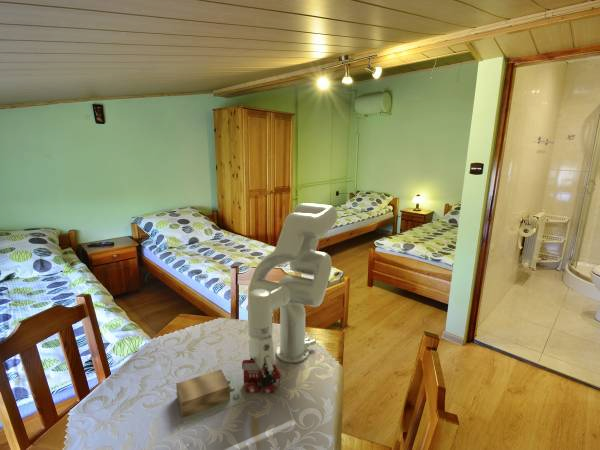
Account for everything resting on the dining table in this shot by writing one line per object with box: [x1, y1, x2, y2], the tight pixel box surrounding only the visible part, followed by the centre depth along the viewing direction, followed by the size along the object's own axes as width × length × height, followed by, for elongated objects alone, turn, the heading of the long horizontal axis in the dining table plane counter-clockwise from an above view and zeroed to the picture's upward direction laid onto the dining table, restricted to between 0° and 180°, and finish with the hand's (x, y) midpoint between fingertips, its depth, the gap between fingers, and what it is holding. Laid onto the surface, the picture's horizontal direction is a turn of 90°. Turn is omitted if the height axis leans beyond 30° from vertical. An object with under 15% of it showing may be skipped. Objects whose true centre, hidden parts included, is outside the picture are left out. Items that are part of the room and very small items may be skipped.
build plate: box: [175, 374, 246, 425], centre depth 100 cm, size 18×14×2 cm
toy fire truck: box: [241, 359, 282, 394], centre depth 105 cm, size 7×12×10 cm, turn 89°
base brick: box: [175, 369, 230, 419], centre depth 99 cm, size 14×9×5 cm, turn 120°
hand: (260, 376), depth 104 cm, fingers open, 9 cm apart
